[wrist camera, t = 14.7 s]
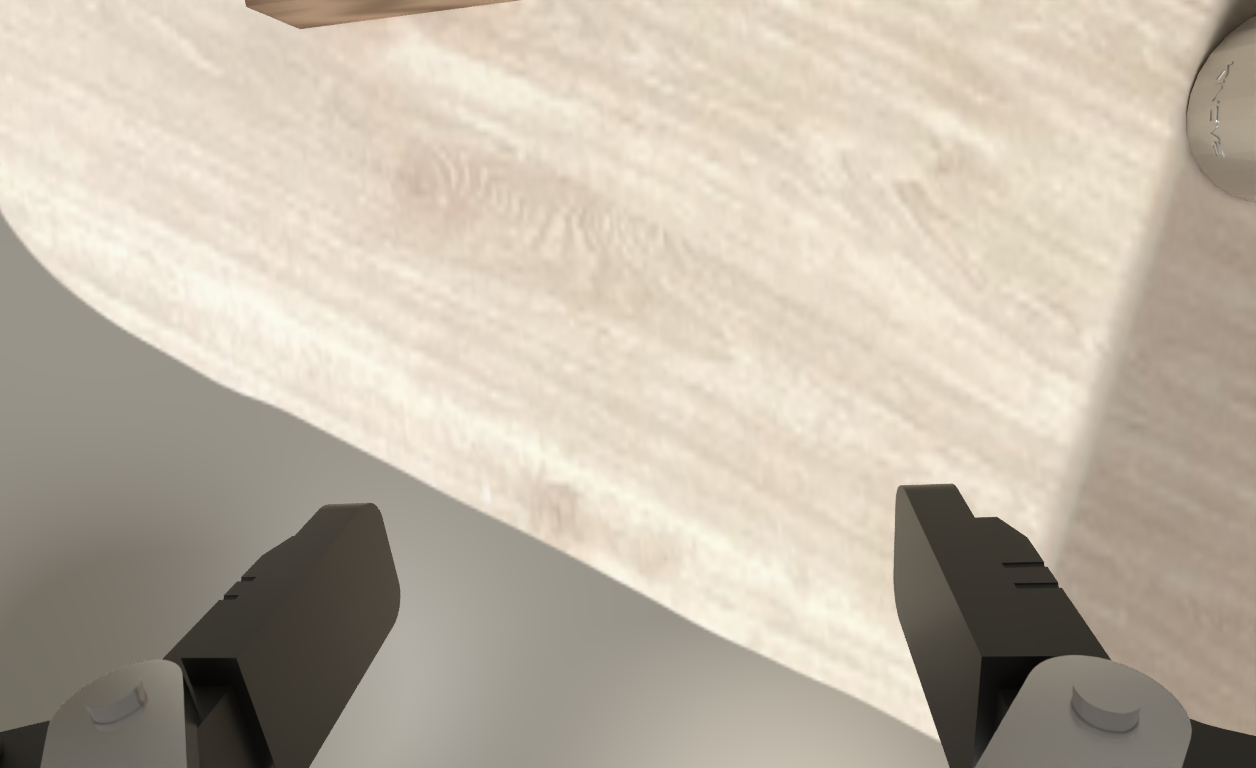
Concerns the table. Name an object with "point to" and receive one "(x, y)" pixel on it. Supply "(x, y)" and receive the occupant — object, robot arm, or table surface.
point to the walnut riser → (351, 9)
